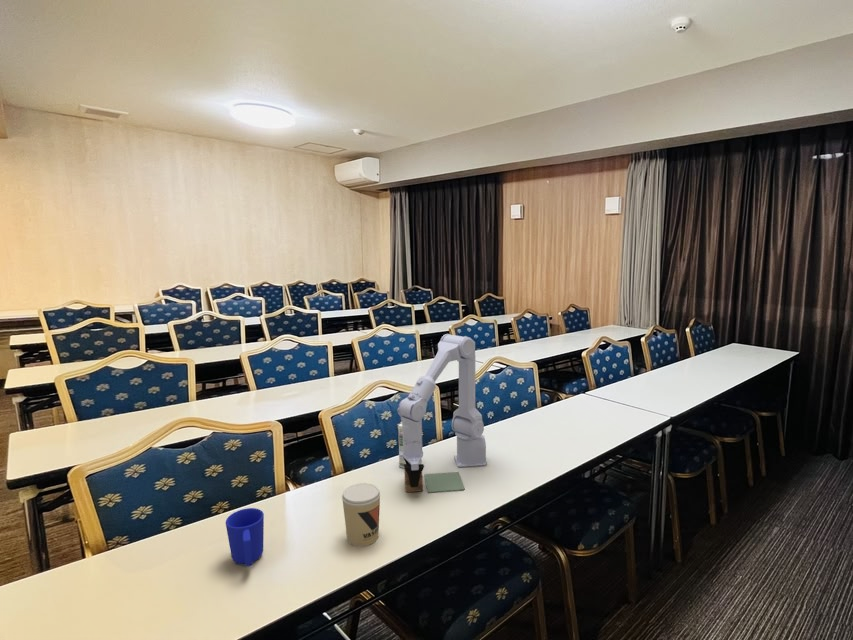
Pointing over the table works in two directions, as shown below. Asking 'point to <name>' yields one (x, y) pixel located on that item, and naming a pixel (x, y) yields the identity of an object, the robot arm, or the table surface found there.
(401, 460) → the syrup box
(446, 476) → the green mat
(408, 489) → the walnut block
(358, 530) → the beige lidded canister
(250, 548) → the mug
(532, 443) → the table surface
